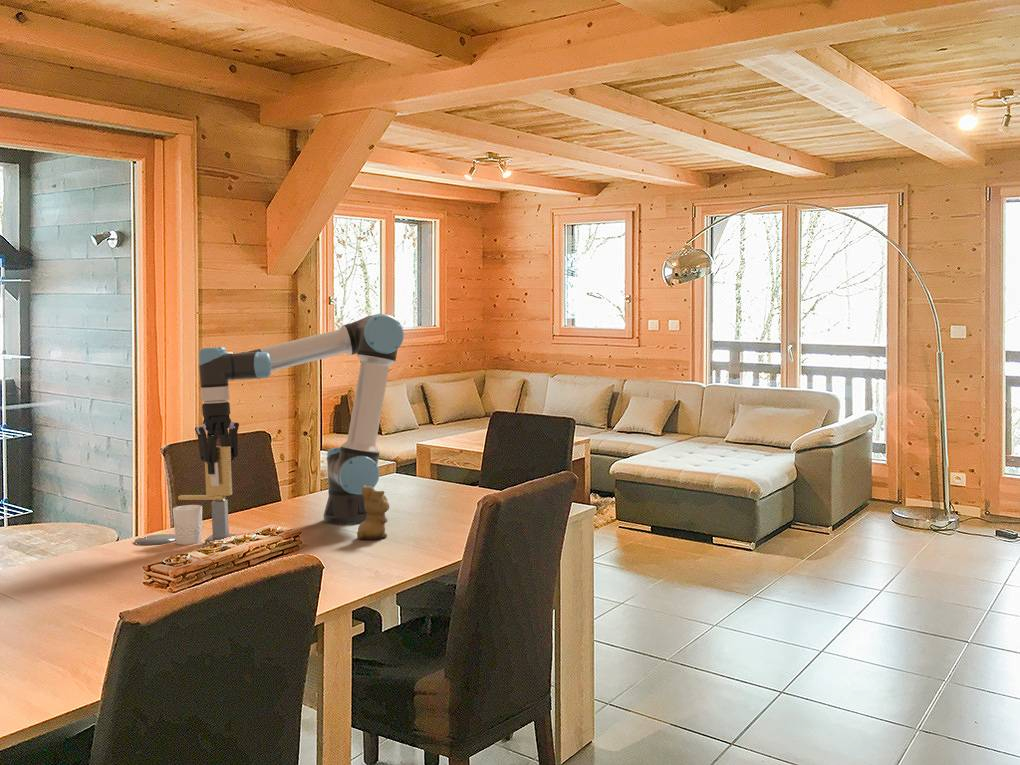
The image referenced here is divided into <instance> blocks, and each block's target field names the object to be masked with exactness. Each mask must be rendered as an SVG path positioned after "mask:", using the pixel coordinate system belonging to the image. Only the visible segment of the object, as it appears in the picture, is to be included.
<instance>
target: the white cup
mask: <svg viewBox="0 0 1020 765" xmlns="http://www.w3.org/2000/svg"><path fill="white" fill-rule="evenodd" d="M172 518H173V526H174V534H175V535H176V541H175V543H176V544H177V545H184V546H185V545H187V546H188V545H194V544H199V543H201V542H202V532H203V531H202V530H203V505H200V504H186V505H180V506H174V507H173V508H172Z"/></svg>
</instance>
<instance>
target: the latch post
mask: <svg viewBox="0 0 1020 765" xmlns="http://www.w3.org/2000/svg"><path fill="white" fill-rule="evenodd" d="M228 501H229V500H228V499H225V500H224V501H214V500H213V501H211V504H210V505H211V522H212V524H211V525H212V534H211V535H210V536H208V537H207V538H206V539H204V544H205V543H207V542H210V541H215V540H221V539H224V538H227V537H231V536H235V535H236V536H237V534H236V533H230V531H229V530H230V529H229V502H228Z"/></svg>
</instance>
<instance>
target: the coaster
mask: <svg viewBox="0 0 1020 765" xmlns="http://www.w3.org/2000/svg"><path fill="white" fill-rule="evenodd" d="M146 536H147V537H144V536H143V537H144V538H140V537H138V538H135V540H134V544H135V543H137V544H136V545H138V544H140V545H139V546H157V545H167V544H172V543H174V542H175V543H176V534H175V533H173V534H172V533H171V534H170V533H161V534H151V535H146ZM146 538H147V539H146Z"/></svg>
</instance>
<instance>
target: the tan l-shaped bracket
mask: <svg viewBox="0 0 1020 765" xmlns="http://www.w3.org/2000/svg"><path fill="white" fill-rule="evenodd" d="M215 463H218V475H219V486H211V478H210V474H208V464H207V463H206V462H204V472H205V473H204V475H205V494H181V495H178V496H177V499H178V501H180V500H182V501H183V500H186V501H189V500H190V501H191V500H192V501H193V500H194V501H195V500H197V501H200V500H201V501H202V500H205V501H206V500H207V501H208V500H213V501H224V500H226V496H228V497H229V496H231V495H233V478H232V472H233V471H231V446H221V445H220V446H219V445H216V456H215Z"/></svg>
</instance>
